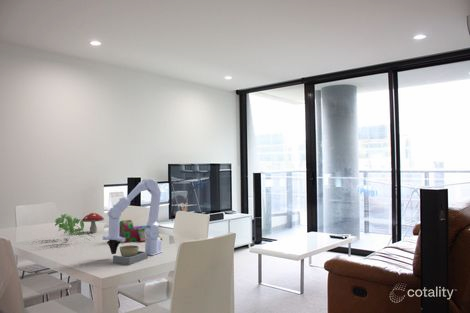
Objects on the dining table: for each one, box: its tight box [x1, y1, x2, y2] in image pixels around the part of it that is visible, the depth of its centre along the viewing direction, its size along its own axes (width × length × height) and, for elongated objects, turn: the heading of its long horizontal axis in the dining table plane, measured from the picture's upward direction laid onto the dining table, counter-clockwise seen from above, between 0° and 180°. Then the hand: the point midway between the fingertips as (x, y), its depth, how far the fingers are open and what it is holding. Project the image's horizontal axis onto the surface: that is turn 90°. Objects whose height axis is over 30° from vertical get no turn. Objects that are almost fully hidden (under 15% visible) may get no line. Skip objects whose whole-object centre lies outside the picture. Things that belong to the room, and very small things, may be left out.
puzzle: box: [119, 219, 163, 244], centre depth 258 cm, size 25×17×14 cm
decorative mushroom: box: [81, 212, 105, 233], centre depth 286 cm, size 16×16×15 cm
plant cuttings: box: [54, 213, 94, 243], centre depth 253 cm, size 35×17×22 cm
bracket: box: [112, 250, 148, 266], centre depth 202 cm, size 15×11×4 cm
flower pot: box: [119, 244, 140, 257], centre depth 202 cm, size 10×10×7 cm
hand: (113, 253), depth 206 cm, fingers closed
